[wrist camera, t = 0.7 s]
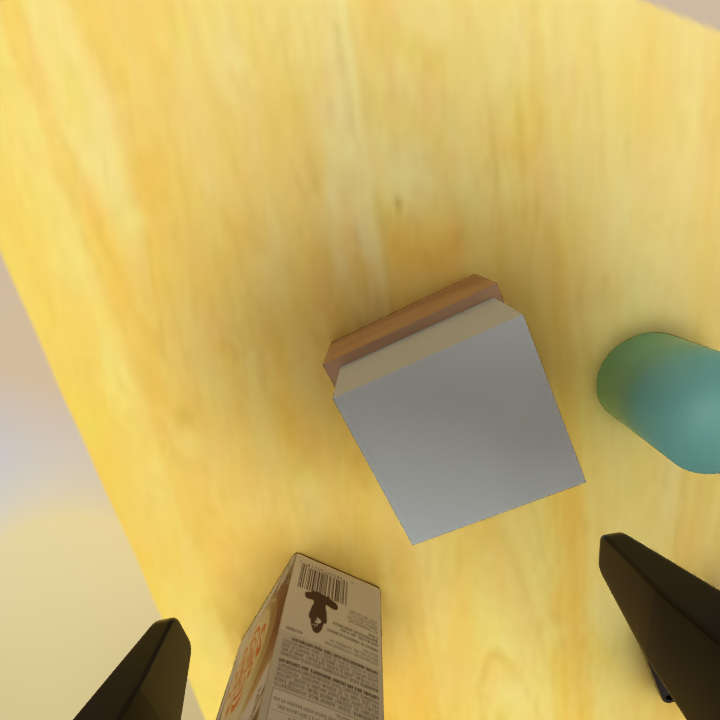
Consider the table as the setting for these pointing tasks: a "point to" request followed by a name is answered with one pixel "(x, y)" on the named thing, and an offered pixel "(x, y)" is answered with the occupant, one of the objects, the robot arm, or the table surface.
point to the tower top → (458, 421)
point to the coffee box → (310, 651)
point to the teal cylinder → (667, 397)
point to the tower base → (409, 321)
